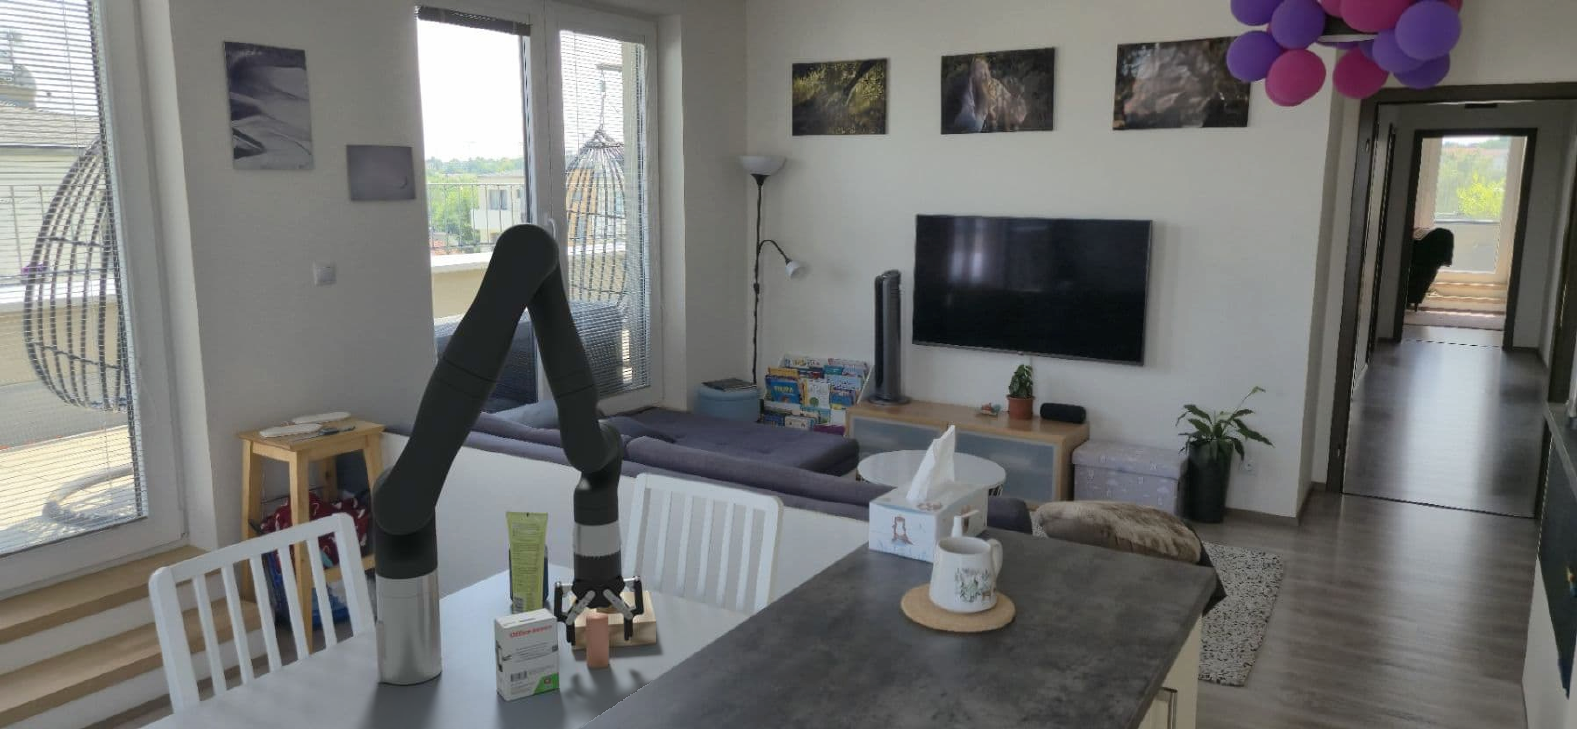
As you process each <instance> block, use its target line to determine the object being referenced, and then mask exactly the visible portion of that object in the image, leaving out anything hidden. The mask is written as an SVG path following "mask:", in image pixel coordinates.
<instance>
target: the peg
mask: <svg viewBox="0 0 1577 729" xmlns="http://www.w3.org/2000/svg"><path fill="white" fill-rule="evenodd" d="M585 650H586V651H585V652H586V666H587V667H588V668H590V669H595V670H596V669H603V668H606V667H608V666H609V665H610V647H609V622H608V615H607V614H605V613H592V614H589V615H587V616H586V649H585Z"/></svg>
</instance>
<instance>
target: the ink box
mask: <svg viewBox="0 0 1577 729" xmlns="http://www.w3.org/2000/svg"><path fill="white" fill-rule="evenodd" d="M493 622H494V624H493V625H494V627H493V629H494V630H493V631H494V655H495V676H496V679H495V680H496V681H495V682H496V691H497V692H498V693H499V695H500V696H501V695H502V696H503V697H502V698H503V699H504V700H505V701H506V702H511V701H515V700H518V699H522V698H525V697H529V696H533V695H536V694H537V695H538V694H541V693H544V692H549V691H552V690H555V689H560V686H561V685H560V666H559V664H560V663H559V662H560V661H559V660H560V659H559V641H558V640H559V639H558V638H559V634H558V632H559V631H558V622H557V617H555V616H554V613H553V612H551V611H550V610H549V609H548V608H546V607H544V608H542V609H539V610H535V611H530V612H525V613H520V614H515V615H514V614H511V615H506V616H501V617H496V618H494V620H493Z"/></svg>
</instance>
